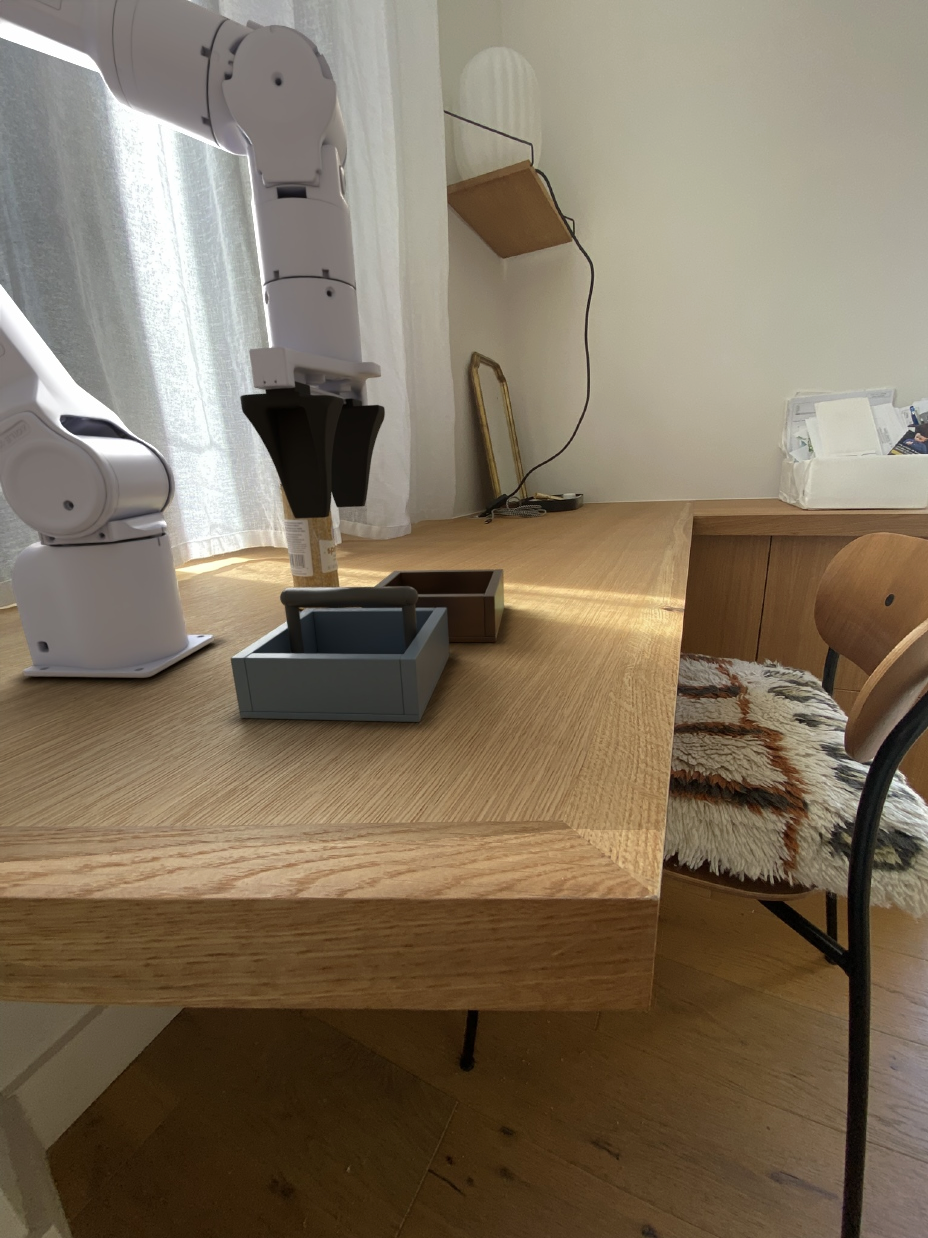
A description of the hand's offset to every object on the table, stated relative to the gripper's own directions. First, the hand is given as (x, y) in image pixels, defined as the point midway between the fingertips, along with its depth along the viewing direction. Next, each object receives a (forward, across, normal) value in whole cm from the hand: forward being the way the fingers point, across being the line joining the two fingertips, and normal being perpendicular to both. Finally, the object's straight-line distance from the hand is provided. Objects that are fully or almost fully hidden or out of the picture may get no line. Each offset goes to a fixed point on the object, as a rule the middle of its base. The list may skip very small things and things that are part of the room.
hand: (333, 511), depth 39 cm
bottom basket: (+10, +6, -6) cm, 13 cm away
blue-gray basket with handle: (+10, -7, -3) cm, 12 cm away
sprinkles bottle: (+10, +12, +7) cm, 17 cm away
